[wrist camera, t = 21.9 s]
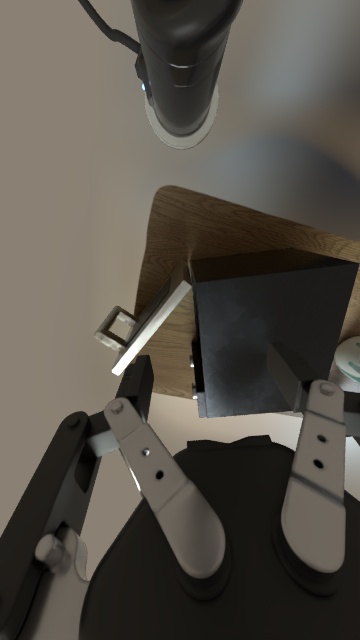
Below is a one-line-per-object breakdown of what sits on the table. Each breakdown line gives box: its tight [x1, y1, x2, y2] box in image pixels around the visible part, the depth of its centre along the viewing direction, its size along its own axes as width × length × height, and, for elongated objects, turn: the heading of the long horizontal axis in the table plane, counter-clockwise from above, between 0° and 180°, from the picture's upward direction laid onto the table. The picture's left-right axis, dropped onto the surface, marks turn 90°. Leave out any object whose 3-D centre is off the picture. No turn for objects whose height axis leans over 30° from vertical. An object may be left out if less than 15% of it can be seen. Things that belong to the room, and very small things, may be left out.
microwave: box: [190, 248, 360, 418], centre depth 41 cm, size 24×28×18 cm
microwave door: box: [94, 259, 192, 375], centre depth 38 cm, size 8×21×18 cm, turn 142°
